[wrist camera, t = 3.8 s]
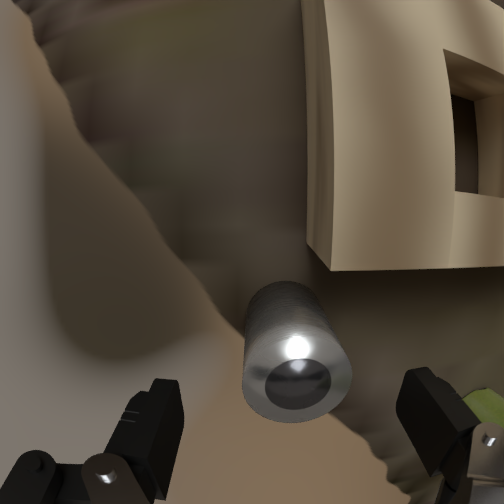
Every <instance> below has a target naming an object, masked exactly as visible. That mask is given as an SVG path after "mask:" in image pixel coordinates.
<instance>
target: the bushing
mask: <svg viewBox="0 0 504 504" xmlns="http://www.w3.org/2000/svg"><path fill="white" fill-rule="evenodd" d="M351 382H352V368H351V364H350V362H349V359H348V357H347V355H346V353H345V351H344V349H343V347H342V346H341V344H340V342H339V340H338V338H337V336H336V334H335V332H334V330H333V328H332V326H331V324H330V322H329V320H328V318H327V316H326V314H325V312H324V311H323V309H322V307H321V305H320V303H319V301H318V299H317V297H316V296H315V294H314V293H313V292H312V291H311V290H310V289H309V288H307V287H306V286H304V285H302V284H300V283H296V282H292V281H279V282H274V283H271V284H269V285H267V286H265V287H263V288H262V289H260V290H259V291H258V292H257V293H256V294H255V295H254V296H253V298H252V299H251V301H250V303H249V305H248V308H247V312H246V328H245V346H244V363H243V380H242V390H243V394H244V397H245V399H246V401H247V403H248V404H249V406H250V407H251V408H252V409H253V410H254V411H255V412H257V413H258V414H260V415H261V416H263V417H265V418H267V419H270V420H273V421H277V422H283V423H298V422H305V421H309V420H312V419H315V418H318V417H320V416H322V415H324V414H326V413H328V412H329V411H331V410H332V409H333V408H335V407H336V406H337V405H338V404H339V403H340V402H341V401H342V400H343V398H344V397H345V396H346V394H347V392H348V390H349V388H350V385H351Z"/></svg>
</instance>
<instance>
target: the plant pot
mask: <svg viewBox="0 0 504 504" xmlns="http://www.w3.org/2000/svg"><path fill="white" fill-rule="evenodd" d="M462 400H464V402H465V403H466V404H467V405H468V406H469V408H470V409H471V410H472V411H473V412H474V414H475V415H476V416H477V417H478V419H479V420H480V421H481V422H482V423H484V422H492V423H496V424H498V425H500V426H501V427H502V428H503V429H504V398H502V397H501V396H500V395H498V394H497V393H495V392H494V391H492V390H491V389H489V388H486V389H484V390H475V391H473V392H471V393H470V394H468V395H467V396H466V397H464V398H463V399H462Z"/></svg>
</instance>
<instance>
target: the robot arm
mask: <svg viewBox="0 0 504 504" xmlns="http://www.w3.org/2000/svg"><path fill="white" fill-rule="evenodd" d="M396 413H397V416H398V418H399V420H400V422H401V424H402V426H403V427H404V429H405V431H406V433H407V435H408V437H409V438H410V440H411V442H412V444H413V446H414V448H415V449H416V451H417V453H418V455H419V457H420V459H421V461H422V463H423V464H424V466H425V468H426V470H427V472H428V474H429V476H430V477H433V476H436V475H439V474H441V473H442V474H443V476H444V478H443V479H442V481H441V483H440V487H439V490H438V493H437V497H436V500H435V503H434V504H504V429H503V428H502V427H501V426H500V425H498V424H496V423H492V422H484V423H482V422H481V421H480V420H479V419H478V417H477V416H476V415H475V414H474V412H473V411H472V410H471V409H470V408H469V406H468V405H467V404H466V403H465V402H464V400H462V398H461V397H460V396H459V395H458V393H457V394H456V391H455V390H454V389H453V388H452V386H451V385H450V384H449V383H447V382H446V381H444V380H442V379H441V378H439V377H436V376H435V375H434V374H433V373H432V371H431V370H430V369H429V368H428V367H421V368H416V369H410V370H408V371H407V372H406V373H405V376H404V379H403V383H402V386H401V389H400V392H399V395H398V399H397V402H396ZM183 428H184V410H183V405H182V400H181V394H180V389H179V383H178V381H177V380H168V379H158V378H156V379H155V380H154V381H153V383H152V385H151V388H150V390H149V392H146V391H140V392H138V393H137V394H136V395H135V396H134V397H132V398H131V399H130V401H129V403H128V404H127V406H126V408H125V412H124V413H123V414H122V417H121V420H120V421H119V422H118V424H117V426H116V428H115V430H114V432H113V434H112V436H111V438H110V440H109V442H108V444H107V446H106V448H105V450H104V452H103V453H100V454H96V455H93V456H91V457H90V458H88V459H87V460H86V461H85V463H84V464H60V463H56V462H55V461H54V459H53V458H52V457H51V455H49V454H48V453H46V452H44V451H40V450H32V451H28V452H26V453H24V454H22V455H21V456H20V457H19V458H18V460H17V461H16V463H15V465H14V466H13V468H12V470H11V471H10V473H9V475H8V477H7V479H6V480H5V482H4V484H3V485H2V487H1V489H0V504H153V503H154V500H155V499H159V500H166V496H167V492H168V488H169V484H170V480H171V476H172V472H173V467H174V464H175V459H176V456H177V452H178V448H179V444H180V440H181V436H182V432H183Z"/></svg>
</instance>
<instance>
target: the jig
mask: <svg viewBox="0 0 504 504" xmlns="http://www.w3.org/2000/svg"><path fill="white" fill-rule="evenodd" d="M301 12H302V25H303V39H304V55H305V75H306V101H307V154H308V181H307V236H306V243H307V244H308V245H309V246H310V247H311V248H312V250H313V251H314V252H315V253H316V254H317V255H318V257H319V258H320V259H321V260H322V261H323V263H324V264H325V265H326V266H327V267H328V268H329V270H330V271H359V270H405V269H439V268H468V267H492V266H504V9H502V8H501V7H499V6H498V5H496V4H494V3H493V2H491V1H489V0H301ZM450 94H453V95H456V96H459V97H462V98H465V99H468V100H471V101H474V106H475V115H476V126H477V141H478V194H472V193H465V192H457V191H455V144H454V127H453V114H452V104H451V96H450Z"/></svg>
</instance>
